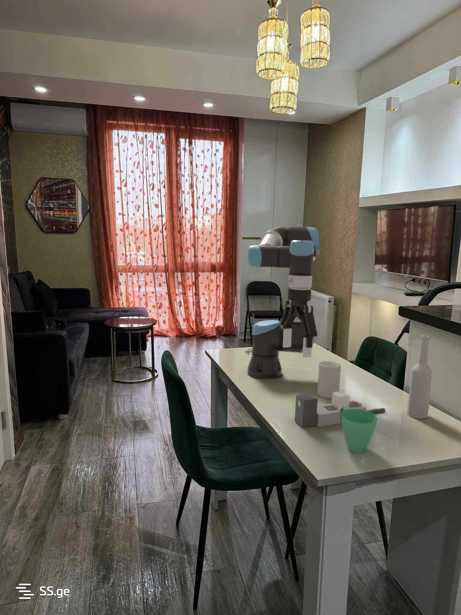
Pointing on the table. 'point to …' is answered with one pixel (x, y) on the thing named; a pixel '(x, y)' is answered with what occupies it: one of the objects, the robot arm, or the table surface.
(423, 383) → the bottle
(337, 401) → the block
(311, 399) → the grey rectangular block
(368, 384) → the table surface
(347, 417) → the mug
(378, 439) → the table surface
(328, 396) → the pale pink cylinder
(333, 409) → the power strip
